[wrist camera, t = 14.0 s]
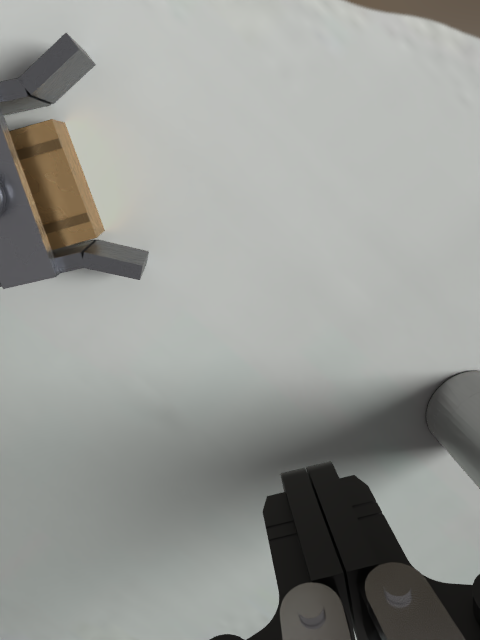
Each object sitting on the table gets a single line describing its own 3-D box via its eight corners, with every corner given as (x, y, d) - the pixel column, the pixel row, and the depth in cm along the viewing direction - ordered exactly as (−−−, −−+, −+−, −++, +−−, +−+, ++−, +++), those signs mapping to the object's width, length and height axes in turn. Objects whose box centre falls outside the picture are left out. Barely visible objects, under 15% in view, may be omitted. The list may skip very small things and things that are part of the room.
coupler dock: (91, 49, 36) (62, 18, 28) (152, 263, 42) (142, 288, 34) (-107, 92, 35) (-196, 73, 27) (-17, 301, 41) (-67, 337, 33)
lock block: (65, 122, 37) (51, 119, 34) (105, 230, 41) (96, 237, 37) (-30, 149, 37) (-55, 149, 33) (18, 255, 41) (-1, 265, 37)
